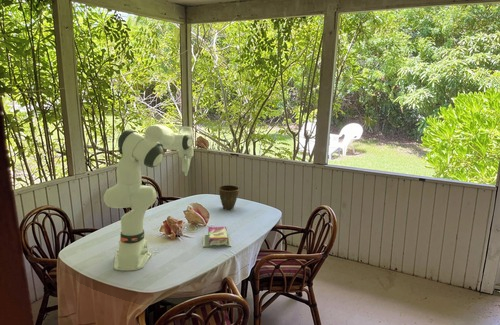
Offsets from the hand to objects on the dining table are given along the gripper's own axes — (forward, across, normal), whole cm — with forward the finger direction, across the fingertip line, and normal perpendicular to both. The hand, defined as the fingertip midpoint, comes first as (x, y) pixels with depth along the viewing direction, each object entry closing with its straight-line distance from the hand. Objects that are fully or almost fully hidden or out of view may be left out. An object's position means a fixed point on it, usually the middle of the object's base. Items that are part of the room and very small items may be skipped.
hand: (186, 175), depth 212 cm
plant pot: (+37, +41, -29) cm, 62 cm away
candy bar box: (+34, -4, -19) cm, 39 cm away
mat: (+37, -14, -19) cm, 43 cm away
